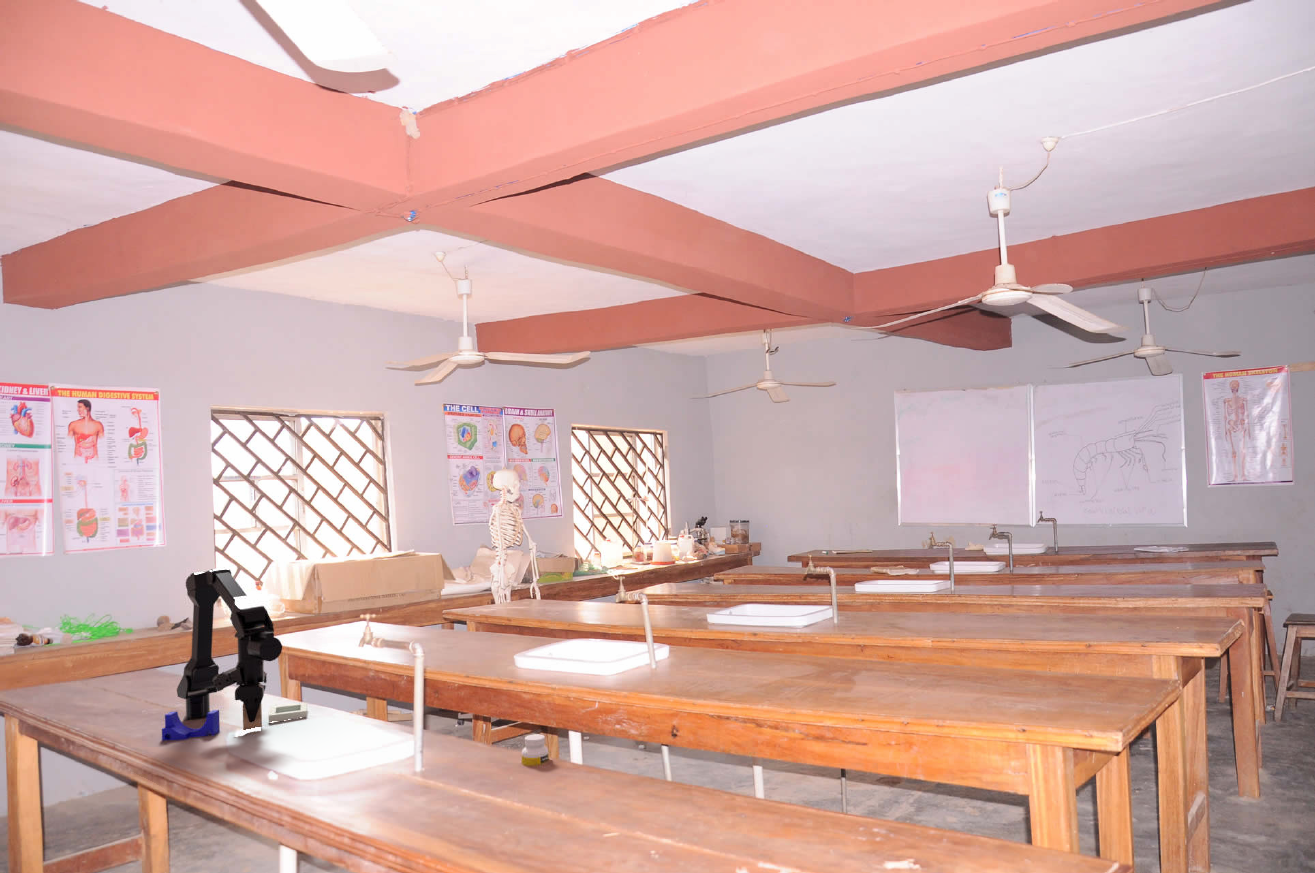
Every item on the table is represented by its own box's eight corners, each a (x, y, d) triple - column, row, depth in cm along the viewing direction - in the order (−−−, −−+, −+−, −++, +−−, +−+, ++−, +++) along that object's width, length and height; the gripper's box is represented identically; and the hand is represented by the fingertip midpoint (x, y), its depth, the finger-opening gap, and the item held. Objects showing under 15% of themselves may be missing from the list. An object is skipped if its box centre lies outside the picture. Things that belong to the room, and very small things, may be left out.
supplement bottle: (544, 791, 178) (542, 741, 178) (518, 790, 179) (516, 740, 179) (553, 781, 183) (551, 733, 184) (527, 780, 185) (526, 732, 185)
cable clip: (162, 741, 222) (161, 716, 222) (172, 735, 226) (171, 711, 227) (210, 739, 222) (209, 714, 222) (219, 733, 226) (219, 709, 226)
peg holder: (270, 718, 238) (270, 706, 238) (307, 713, 241) (306, 702, 241) (268, 727, 230) (268, 715, 230) (306, 722, 233) (306, 710, 233)
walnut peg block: (244, 729, 225) (243, 701, 226) (262, 727, 227) (261, 699, 227) (243, 734, 222) (242, 705, 222) (261, 731, 223) (260, 703, 223)
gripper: (218, 652, 231) (220, 714, 230) (210, 667, 213) (212, 734, 213) (266, 648, 234) (267, 708, 234) (262, 662, 217) (263, 727, 217)
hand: (252, 719), depth 224 cm, fingers closed on walnut peg block, 4 cm apart
